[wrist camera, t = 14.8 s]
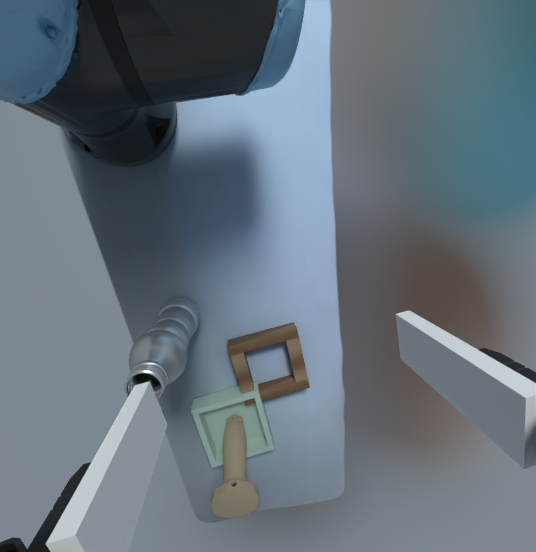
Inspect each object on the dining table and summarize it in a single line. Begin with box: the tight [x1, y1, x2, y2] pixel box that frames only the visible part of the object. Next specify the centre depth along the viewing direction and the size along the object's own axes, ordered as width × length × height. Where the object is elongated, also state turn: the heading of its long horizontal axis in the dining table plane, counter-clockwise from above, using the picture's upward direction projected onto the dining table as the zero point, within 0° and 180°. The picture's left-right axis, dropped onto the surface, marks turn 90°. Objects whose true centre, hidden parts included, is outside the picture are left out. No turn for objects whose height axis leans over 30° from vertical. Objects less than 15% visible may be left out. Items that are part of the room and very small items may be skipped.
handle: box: [211, 414, 259, 518], centre depth 44 cm, size 5×6×15 cm
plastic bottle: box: [125, 298, 200, 400], centre depth 36 cm, size 6×7×20 cm
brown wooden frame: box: [228, 322, 310, 406], centre depth 48 cm, size 12×12×2 cm
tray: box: [191, 381, 275, 468], centre depth 50 cm, size 13×12×3 cm
